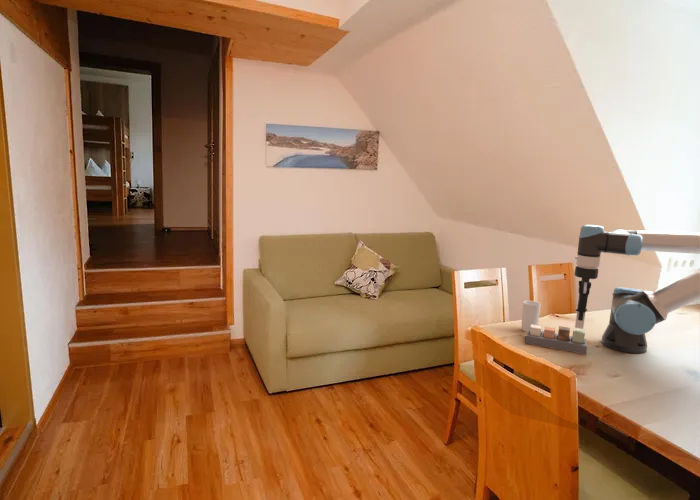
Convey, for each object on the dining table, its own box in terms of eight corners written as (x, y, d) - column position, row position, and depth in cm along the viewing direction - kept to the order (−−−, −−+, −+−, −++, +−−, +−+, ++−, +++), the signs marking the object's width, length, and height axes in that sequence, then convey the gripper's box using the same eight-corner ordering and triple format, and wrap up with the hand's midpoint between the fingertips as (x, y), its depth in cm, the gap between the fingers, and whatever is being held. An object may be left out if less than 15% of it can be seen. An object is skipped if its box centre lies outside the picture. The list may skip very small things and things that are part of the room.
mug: (534, 334, 180) (537, 306, 178) (518, 330, 184) (520, 302, 182) (542, 328, 187) (545, 301, 185) (526, 324, 192) (529, 298, 190)
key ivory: (540, 335, 173) (541, 326, 172) (539, 338, 169) (540, 328, 169) (530, 333, 174) (531, 324, 174) (529, 336, 171) (530, 327, 170)
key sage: (583, 340, 166) (584, 330, 165) (583, 343, 163) (584, 333, 162) (572, 338, 168) (573, 328, 167) (572, 341, 164) (573, 331, 164)
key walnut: (568, 337, 168) (569, 327, 168) (568, 340, 165) (569, 330, 164) (557, 335, 170) (559, 326, 169) (557, 338, 167) (558, 328, 166)
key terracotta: (554, 338, 171) (555, 328, 170) (553, 341, 167) (555, 331, 167) (543, 336, 172) (544, 326, 172) (543, 339, 169) (544, 329, 168)
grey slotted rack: (585, 346, 168) (586, 338, 168) (586, 354, 160) (587, 346, 160) (527, 335, 178) (528, 328, 177) (525, 342, 170) (526, 335, 169)
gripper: (575, 262, 168) (568, 321, 172) (575, 268, 156) (568, 330, 160) (597, 265, 165) (589, 324, 169) (599, 271, 153) (591, 334, 157)
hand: (579, 327), depth 164 cm, fingers closed
